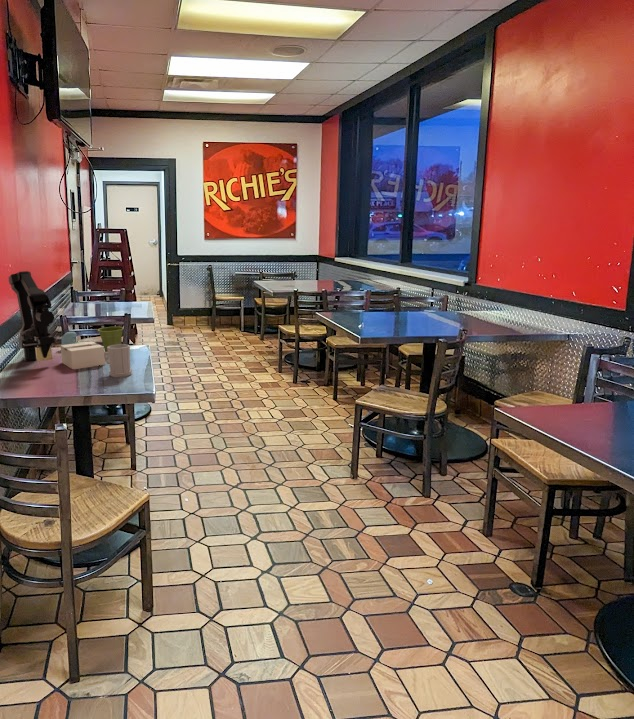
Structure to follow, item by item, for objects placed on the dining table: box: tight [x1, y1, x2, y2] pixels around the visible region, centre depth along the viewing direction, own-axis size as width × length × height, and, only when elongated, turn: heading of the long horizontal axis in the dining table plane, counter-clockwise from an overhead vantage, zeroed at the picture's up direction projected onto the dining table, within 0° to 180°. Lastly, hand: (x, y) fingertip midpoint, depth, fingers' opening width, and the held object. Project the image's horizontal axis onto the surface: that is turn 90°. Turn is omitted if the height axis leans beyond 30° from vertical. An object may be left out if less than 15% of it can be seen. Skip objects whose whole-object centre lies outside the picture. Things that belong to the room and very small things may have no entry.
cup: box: [104, 343, 133, 378], centre depth 261 cm, size 10×9×12 cm
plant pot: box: [97, 326, 124, 353], centre depth 306 cm, size 12×12×11 cm
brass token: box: [35, 345, 53, 362], centre depth 277 cm, size 2×6×6 cm, turn 127°
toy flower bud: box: [61, 331, 80, 345], centre depth 314 cm, size 7×9×12 cm
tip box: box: [59, 341, 106, 370], centre depth 282 cm, size 16×14×8 cm
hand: (44, 357), depth 277 cm, fingers closed on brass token, 2 cm apart
